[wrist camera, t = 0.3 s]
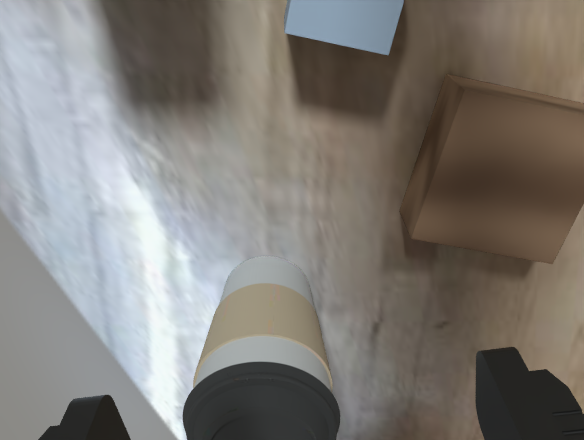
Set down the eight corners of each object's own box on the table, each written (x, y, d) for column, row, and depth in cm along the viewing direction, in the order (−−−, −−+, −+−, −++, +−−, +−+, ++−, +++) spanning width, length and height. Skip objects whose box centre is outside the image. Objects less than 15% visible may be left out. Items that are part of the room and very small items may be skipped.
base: (446, 73, 34) (464, 89, 31) (590, 104, 35) (624, 123, 32) (399, 210, 39) (411, 238, 35) (528, 234, 40) (552, 264, 36)
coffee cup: (212, 338, 44) (182, 512, 31) (205, 243, 40) (166, 397, 27) (323, 338, 44) (340, 511, 31) (327, 243, 40) (349, 396, 27)
